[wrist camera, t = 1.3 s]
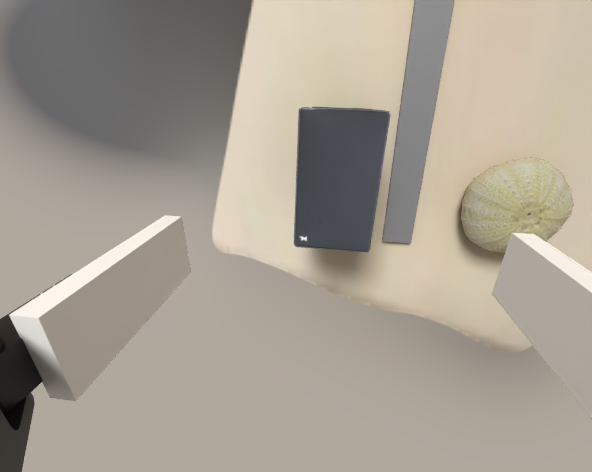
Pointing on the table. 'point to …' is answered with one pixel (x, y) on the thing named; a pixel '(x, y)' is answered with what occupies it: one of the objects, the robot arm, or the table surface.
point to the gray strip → (416, 114)
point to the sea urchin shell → (515, 203)
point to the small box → (338, 176)
